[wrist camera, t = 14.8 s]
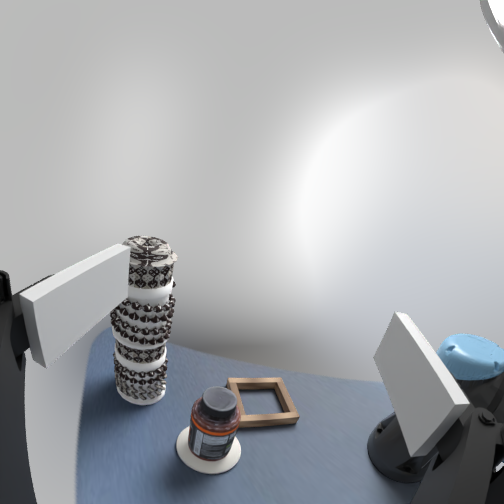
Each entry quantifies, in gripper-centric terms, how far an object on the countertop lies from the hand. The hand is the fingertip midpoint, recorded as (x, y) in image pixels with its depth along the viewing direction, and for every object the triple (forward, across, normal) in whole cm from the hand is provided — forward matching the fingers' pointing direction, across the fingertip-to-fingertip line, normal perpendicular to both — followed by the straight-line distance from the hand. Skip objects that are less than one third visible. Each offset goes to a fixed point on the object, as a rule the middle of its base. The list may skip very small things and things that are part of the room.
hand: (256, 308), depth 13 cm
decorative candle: (+19, -15, -30) cm, 39 cm away
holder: (+23, +5, -30) cm, 38 cm away
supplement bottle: (+11, -1, -30) cm, 32 cm away
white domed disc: (+11, -1, -30) cm, 32 cm away
